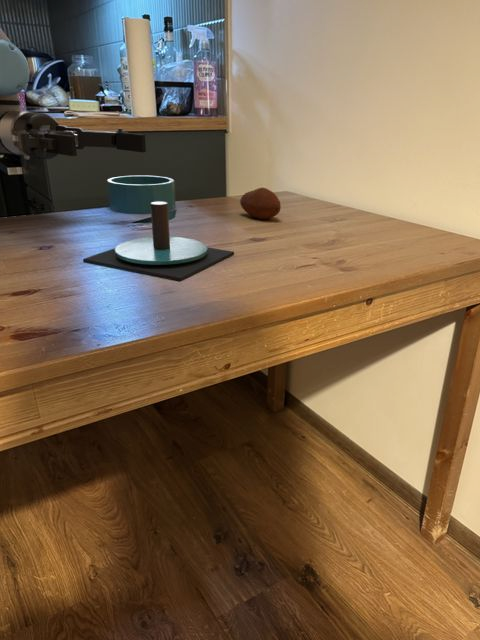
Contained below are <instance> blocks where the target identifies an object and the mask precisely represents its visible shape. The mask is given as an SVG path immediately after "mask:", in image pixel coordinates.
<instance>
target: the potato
mask: <svg viewBox="0 0 480 640" xmlns="http://www.w3.org/2000/svg"><path fill="white" fill-rule="evenodd" d="M239 204H240V206H241V208H242V209H243V211H244V212H246V214H247V215H249V216H251V217H254V218H257V219H259V220H266V219H270V218H273V217H275V216H278V214H280V212H281V208H282V206H281V201H280V200H279V197H278V195H276V193H274V192H273V191H272V190H270V189H268V188H266V187H258V188H256V189H253V190H250V191H247V192H245V193H244V194H242V196H241V198H240V200H239Z"/></svg>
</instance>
